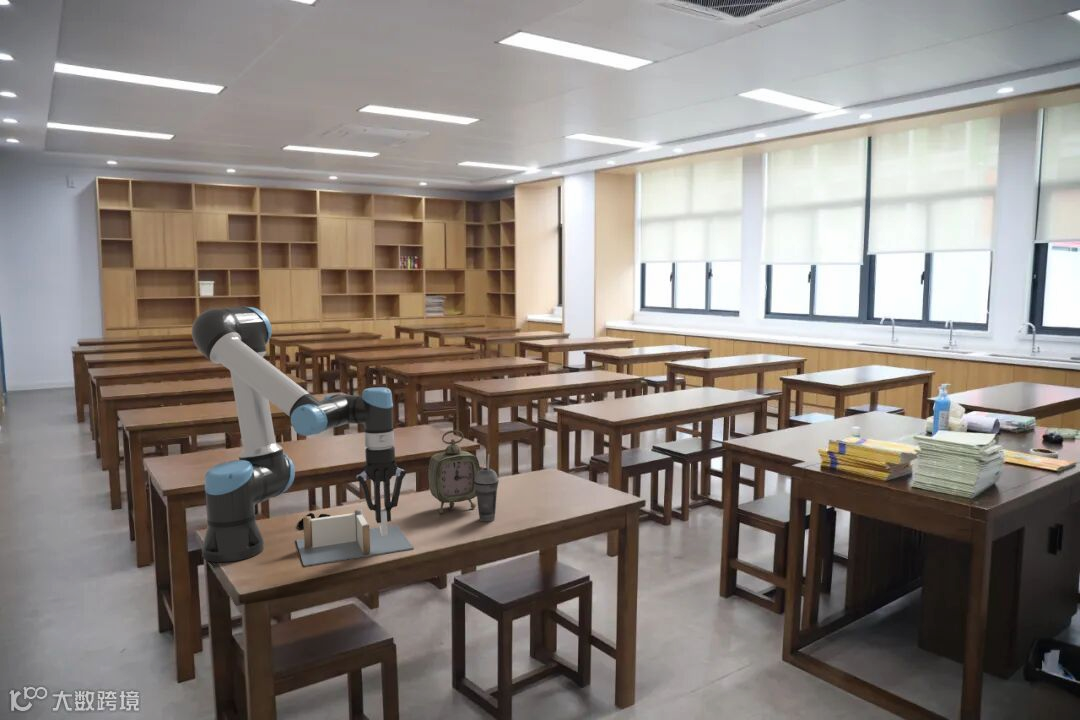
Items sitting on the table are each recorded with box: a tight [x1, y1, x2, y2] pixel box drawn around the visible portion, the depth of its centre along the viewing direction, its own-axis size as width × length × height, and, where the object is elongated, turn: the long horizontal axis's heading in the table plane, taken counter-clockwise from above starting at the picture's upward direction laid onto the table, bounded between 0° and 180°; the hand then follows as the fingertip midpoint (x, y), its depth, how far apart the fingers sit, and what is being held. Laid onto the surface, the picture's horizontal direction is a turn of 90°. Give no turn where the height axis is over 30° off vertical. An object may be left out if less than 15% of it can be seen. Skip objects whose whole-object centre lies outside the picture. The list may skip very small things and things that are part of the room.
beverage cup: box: [474, 453, 500, 522], centre depth 216 cm, size 7×7×20 cm
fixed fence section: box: [303, 509, 363, 548], centre depth 197 cm, size 16×2×9 cm, turn 114°
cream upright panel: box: [356, 514, 371, 554], centre depth 194 cm, size 11×2×7 cm, turn 23°
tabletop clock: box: [427, 430, 481, 514], centre depth 226 cm, size 14×9×25 cm, turn 117°
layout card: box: [295, 524, 414, 567], centre depth 197 cm, size 28×20×1 cm
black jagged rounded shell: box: [296, 512, 331, 532], centre depth 214 cm, size 12×10×5 cm
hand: (383, 533), depth 193 cm, fingers closed
